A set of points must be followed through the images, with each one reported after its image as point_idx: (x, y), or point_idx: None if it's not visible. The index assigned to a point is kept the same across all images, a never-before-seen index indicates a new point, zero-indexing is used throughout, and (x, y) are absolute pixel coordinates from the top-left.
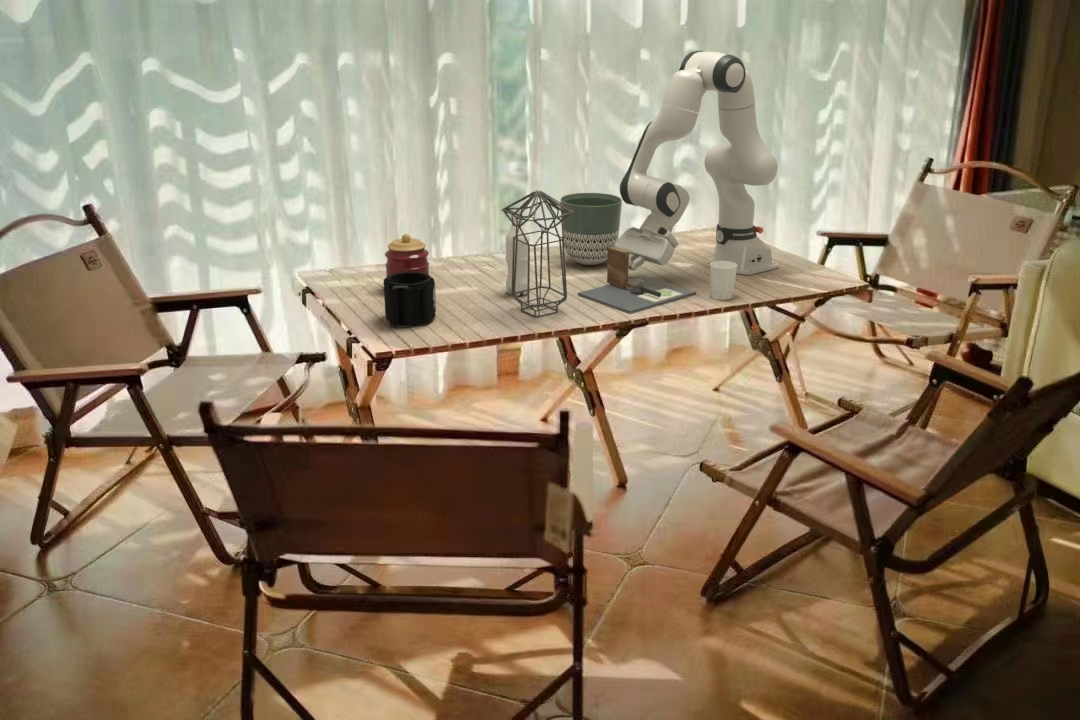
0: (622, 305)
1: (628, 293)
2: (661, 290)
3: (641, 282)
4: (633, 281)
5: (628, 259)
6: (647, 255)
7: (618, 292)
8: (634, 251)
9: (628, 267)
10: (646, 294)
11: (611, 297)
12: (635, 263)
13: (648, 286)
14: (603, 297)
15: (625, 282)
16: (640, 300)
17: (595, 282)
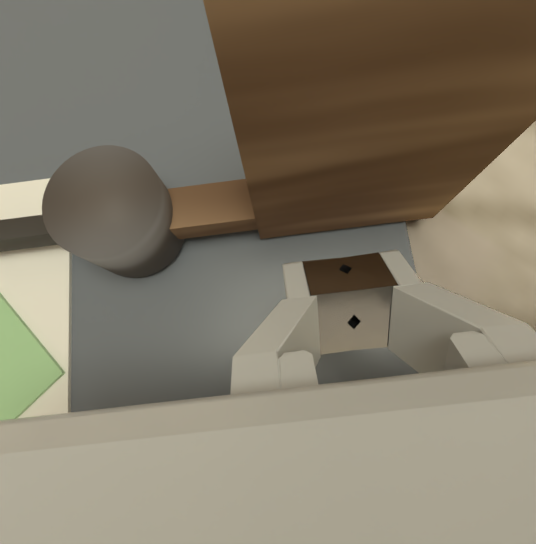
0: (14, 19)
1: (157, 170)
2: (33, 392)
3: (52, 203)
4: (114, 162)
5: (225, 86)
6: (48, 430)
7: (213, 130)
8: (488, 384)
9: (242, 163)
10: (53, 245)
11: (162, 45)
12: (284, 300)
13: (197, 396)
14: (189, 9)
15: (239, 185)
16: (7, 150)
17: (530, 170)
